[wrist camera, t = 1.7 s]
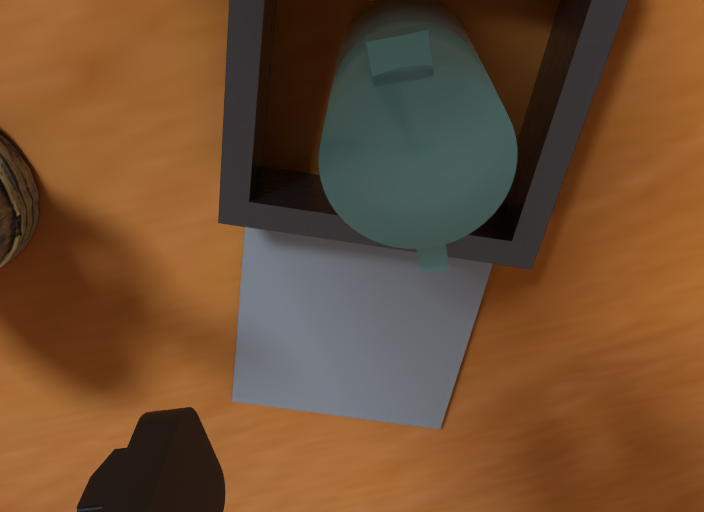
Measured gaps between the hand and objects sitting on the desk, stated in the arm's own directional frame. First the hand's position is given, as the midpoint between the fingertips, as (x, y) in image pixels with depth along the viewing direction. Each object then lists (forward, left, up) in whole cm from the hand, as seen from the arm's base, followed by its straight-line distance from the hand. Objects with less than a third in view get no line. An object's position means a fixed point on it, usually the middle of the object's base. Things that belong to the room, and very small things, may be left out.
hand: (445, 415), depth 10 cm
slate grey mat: (+14, 0, -20) cm, 24 cm away
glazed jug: (0, 0, -20) cm, 20 cm away
